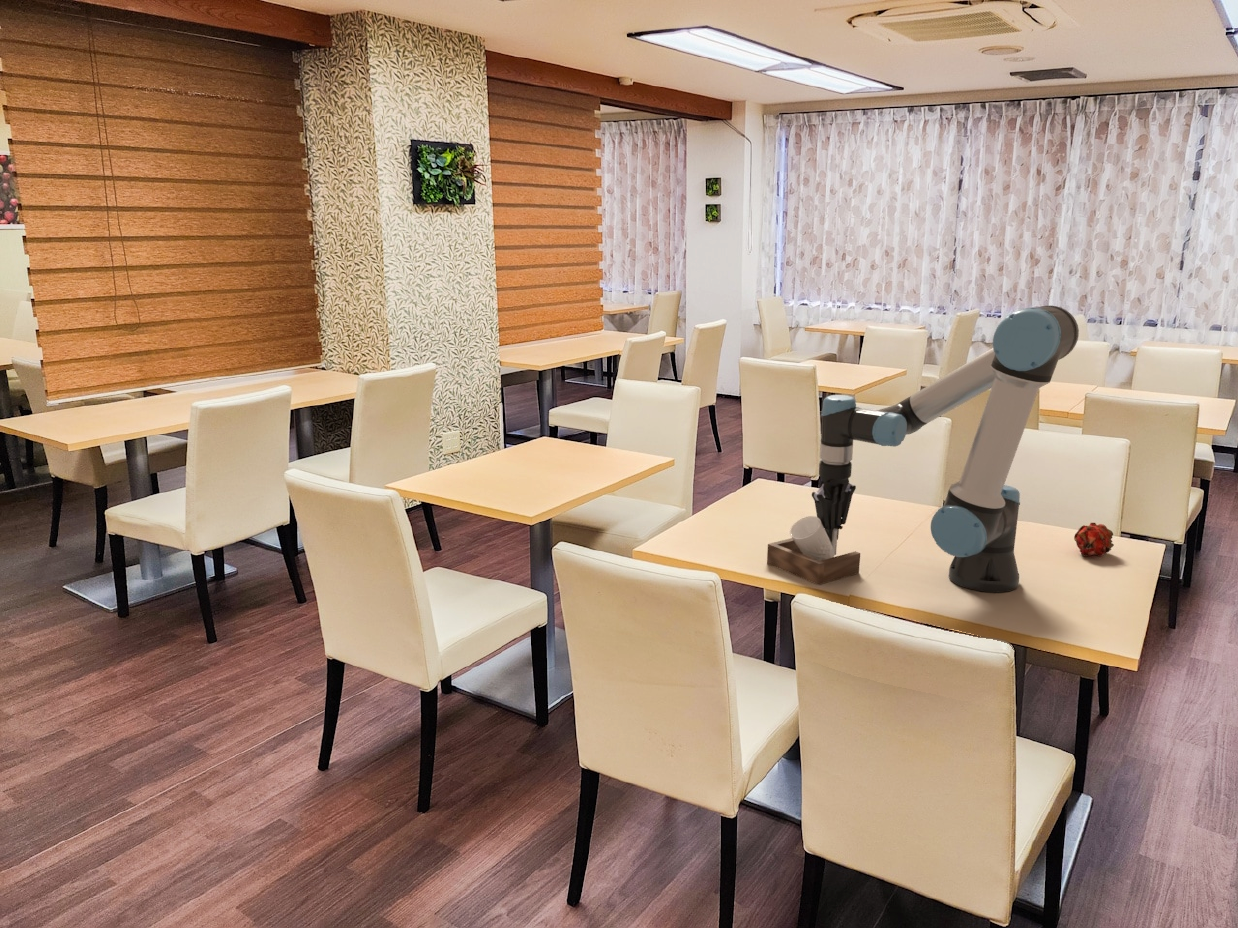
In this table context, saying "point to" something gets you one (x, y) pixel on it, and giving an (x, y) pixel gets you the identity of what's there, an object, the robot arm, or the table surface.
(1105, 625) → the table surface
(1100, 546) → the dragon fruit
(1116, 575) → the table surface
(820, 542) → the white cup
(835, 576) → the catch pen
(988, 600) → the table surface
